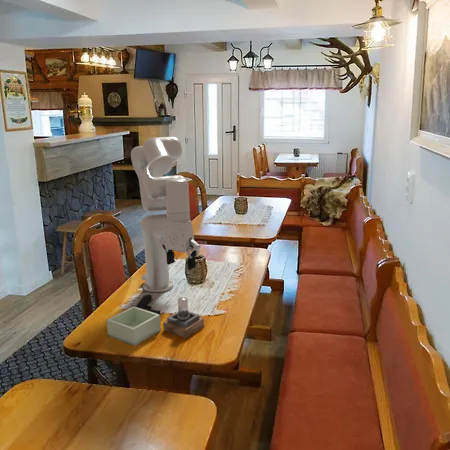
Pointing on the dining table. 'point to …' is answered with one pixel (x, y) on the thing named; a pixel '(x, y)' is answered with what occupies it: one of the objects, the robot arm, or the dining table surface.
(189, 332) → the brown square base
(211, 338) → the dining table surface
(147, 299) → the pistol
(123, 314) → the bin
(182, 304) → the light bulb
